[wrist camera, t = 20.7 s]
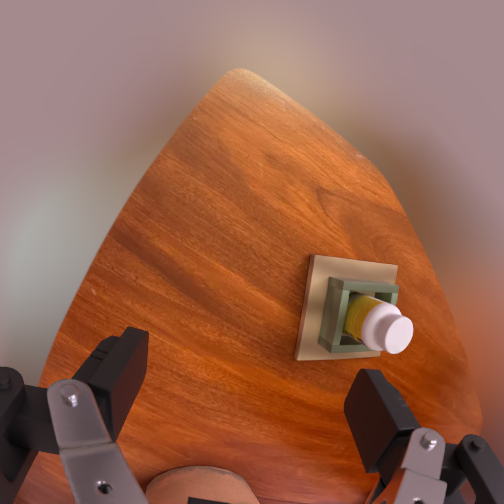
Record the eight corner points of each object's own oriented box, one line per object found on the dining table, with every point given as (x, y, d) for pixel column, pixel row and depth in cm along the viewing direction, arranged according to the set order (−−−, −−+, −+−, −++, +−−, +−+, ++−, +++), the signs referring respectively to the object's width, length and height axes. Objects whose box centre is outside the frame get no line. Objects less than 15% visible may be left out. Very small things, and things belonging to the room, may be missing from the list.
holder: (310, 253, 36) (329, 257, 32) (392, 264, 39) (414, 268, 35) (293, 356, 37) (308, 372, 32) (374, 353, 40) (394, 365, 35)
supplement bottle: (326, 329, 36) (372, 358, 27) (340, 286, 36) (390, 305, 27) (360, 335, 38) (407, 361, 28) (372, 295, 38) (424, 313, 28)
